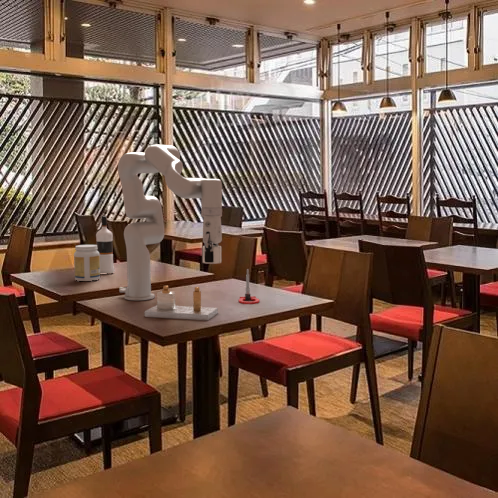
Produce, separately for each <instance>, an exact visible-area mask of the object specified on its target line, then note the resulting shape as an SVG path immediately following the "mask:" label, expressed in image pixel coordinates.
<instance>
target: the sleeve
mask: <svg viewBox="0 0 498 498" xmlns="http://www.w3.org/2000/svg"><path fill="white" fill-rule="evenodd" d="M210 247H211V245H210ZM201 251H202V264H206V265H207V264H211V265H214V264H216V265H217V264H222V246H221V245H219V246H217V245H213V251H214V262H205V245H203V246H202V250H201Z"/></svg>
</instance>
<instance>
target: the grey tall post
mask: <svg viewBox="0 0 498 498" xmlns="http://www.w3.org/2000/svg"><path fill="white" fill-rule="evenodd" d="M249 273H250V271H249V268H247V269H246V275H245V276H246V277H245V280H246V281H245V283H246V284H245V286H246V287H245V293H244V296H239V299H238V303H240V304H243V305H253V304H254V305H256V304H258V303H260V299H259V298H257V297H256V296H253V295H252V296H251V293H250V291H251V289H250V274H249Z"/></svg>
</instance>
